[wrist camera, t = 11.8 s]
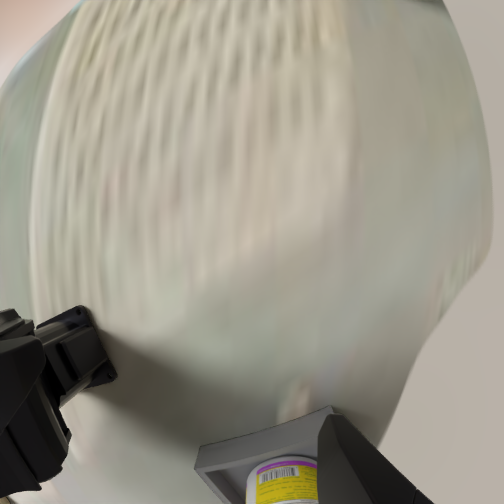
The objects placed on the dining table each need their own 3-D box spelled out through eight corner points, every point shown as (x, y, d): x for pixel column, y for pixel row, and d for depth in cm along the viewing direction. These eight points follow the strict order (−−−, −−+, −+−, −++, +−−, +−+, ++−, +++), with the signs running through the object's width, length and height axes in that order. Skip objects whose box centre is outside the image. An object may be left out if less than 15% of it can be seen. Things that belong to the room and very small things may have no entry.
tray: (253, 511, 20) (253, 531, 17) (200, 446, 19) (193, 468, 16) (360, 479, 19) (368, 499, 16) (330, 405, 19) (339, 426, 16)
